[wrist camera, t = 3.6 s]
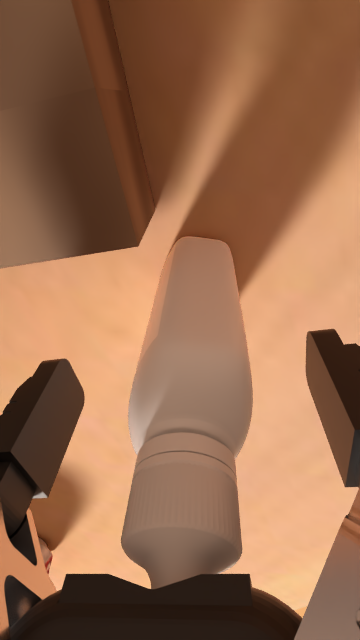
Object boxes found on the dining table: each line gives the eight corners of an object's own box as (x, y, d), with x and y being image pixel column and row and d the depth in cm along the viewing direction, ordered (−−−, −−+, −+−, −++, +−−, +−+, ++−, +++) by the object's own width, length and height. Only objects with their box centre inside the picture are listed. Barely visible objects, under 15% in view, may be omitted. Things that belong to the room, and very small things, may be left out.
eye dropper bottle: (126, 307, 16) (-7, 648, 6) (193, 215, 13) (155, 560, 3) (196, 350, 17) (184, 691, 7) (272, 273, 14) (418, 655, 4)
